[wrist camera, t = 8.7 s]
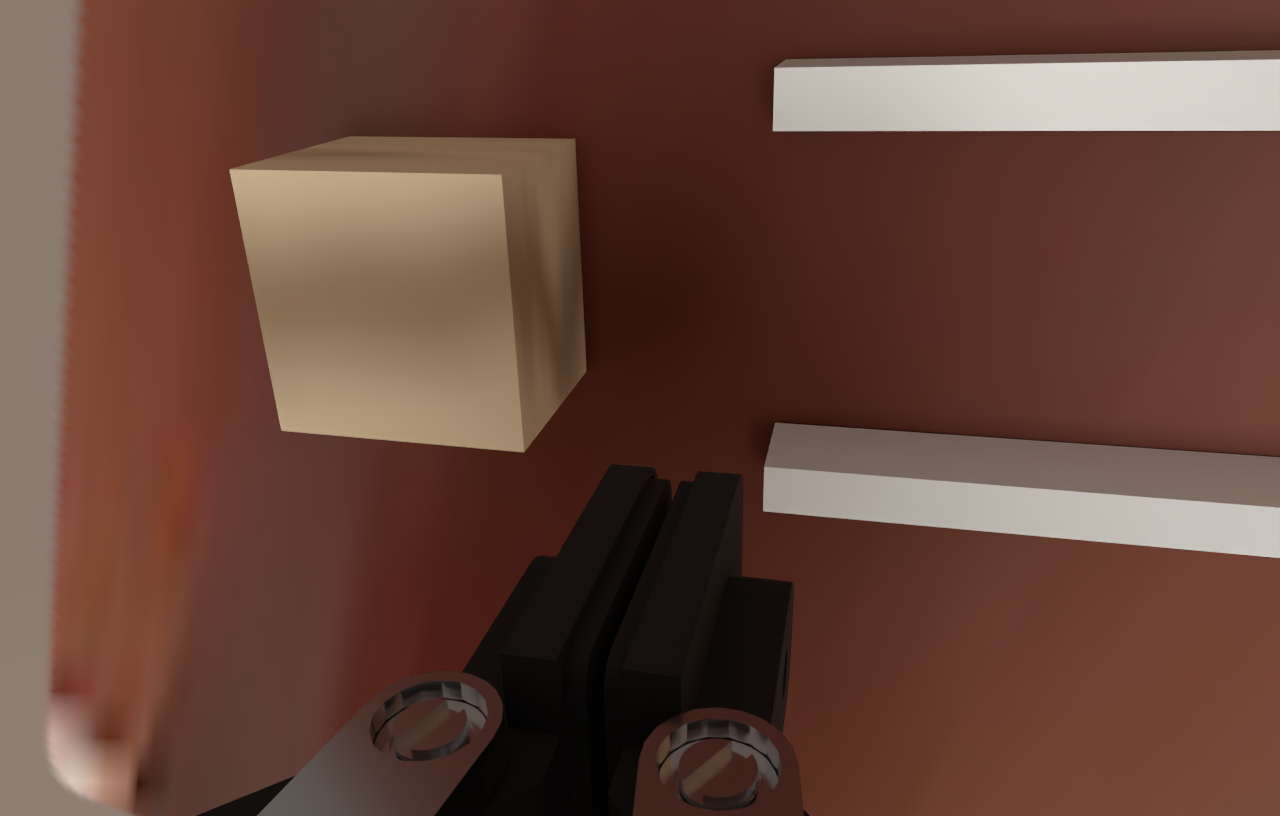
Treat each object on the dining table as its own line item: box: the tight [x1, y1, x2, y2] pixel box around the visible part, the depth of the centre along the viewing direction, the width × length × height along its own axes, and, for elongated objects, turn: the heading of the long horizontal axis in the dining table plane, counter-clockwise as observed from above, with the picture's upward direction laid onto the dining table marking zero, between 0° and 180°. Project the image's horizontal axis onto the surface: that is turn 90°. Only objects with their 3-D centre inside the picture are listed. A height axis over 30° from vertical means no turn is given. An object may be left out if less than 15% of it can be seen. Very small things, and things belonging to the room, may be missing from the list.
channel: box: [763, 50, 1280, 558], centre depth 19 cm, size 10×20×2 cm, turn 92°
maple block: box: [229, 136, 587, 452], centre depth 22 cm, size 6×6×5 cm
